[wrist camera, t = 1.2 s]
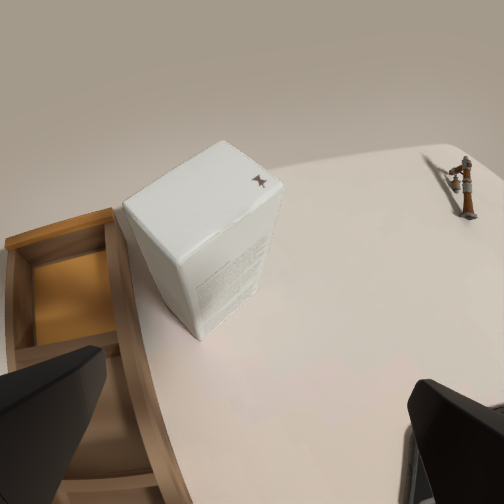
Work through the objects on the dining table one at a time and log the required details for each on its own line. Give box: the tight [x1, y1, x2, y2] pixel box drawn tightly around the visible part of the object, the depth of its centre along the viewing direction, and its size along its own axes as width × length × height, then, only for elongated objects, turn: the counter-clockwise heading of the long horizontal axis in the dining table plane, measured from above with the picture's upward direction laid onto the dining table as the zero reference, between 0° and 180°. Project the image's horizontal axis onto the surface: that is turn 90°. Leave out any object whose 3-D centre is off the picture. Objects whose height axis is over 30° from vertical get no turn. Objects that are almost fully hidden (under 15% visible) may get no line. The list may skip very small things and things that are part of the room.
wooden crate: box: [5, 208, 193, 504], centre depth 15 cm, size 27×10×5 cm, turn 18°
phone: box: [404, 407, 504, 504], centre depth 17 cm, size 8×1×15 cm
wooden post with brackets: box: [449, 156, 478, 220], centre depth 31 cm, size 2×8×4 cm, turn 174°
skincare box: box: [123, 140, 285, 341], centre depth 18 cm, size 6×4×12 cm
